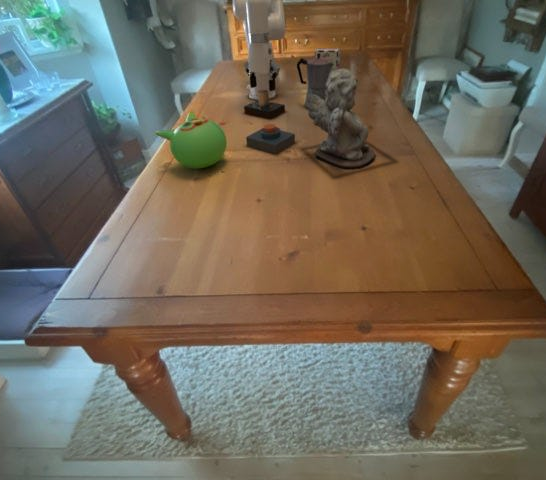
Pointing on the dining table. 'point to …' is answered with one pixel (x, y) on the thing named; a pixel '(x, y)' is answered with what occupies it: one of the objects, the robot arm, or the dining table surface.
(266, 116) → the panel
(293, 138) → the dark piece
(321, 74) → the moka pot
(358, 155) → the angel statue
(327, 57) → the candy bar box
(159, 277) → the dining table surface
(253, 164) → the dining table surface
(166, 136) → the toy bird
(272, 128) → the release button
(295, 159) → the dining table surface
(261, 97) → the tan wooden block
